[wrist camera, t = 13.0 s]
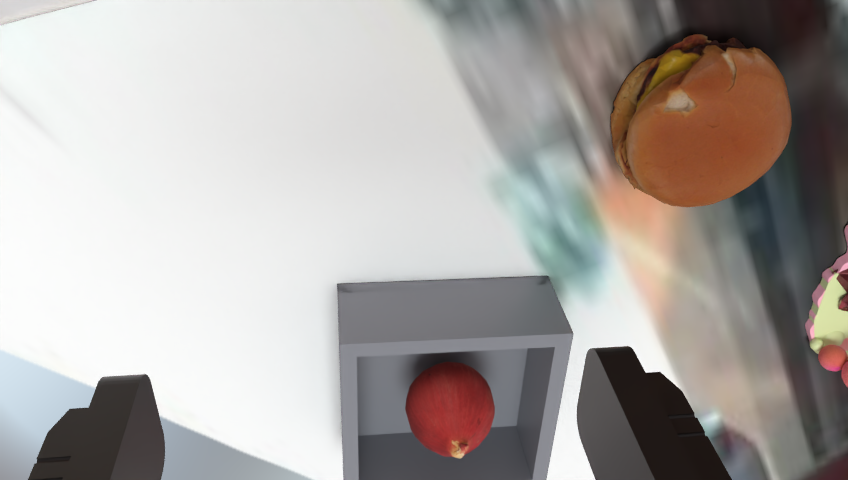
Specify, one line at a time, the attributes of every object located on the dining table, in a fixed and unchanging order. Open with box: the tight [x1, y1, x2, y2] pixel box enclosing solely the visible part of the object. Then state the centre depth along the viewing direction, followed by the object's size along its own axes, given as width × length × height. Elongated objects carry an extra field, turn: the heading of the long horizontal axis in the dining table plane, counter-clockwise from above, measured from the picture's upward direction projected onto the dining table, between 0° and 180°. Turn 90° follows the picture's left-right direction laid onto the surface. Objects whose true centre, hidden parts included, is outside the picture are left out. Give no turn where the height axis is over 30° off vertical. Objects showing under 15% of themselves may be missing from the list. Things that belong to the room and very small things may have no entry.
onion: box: [405, 362, 495, 458], centre depth 48 cm, size 6×6×8 cm
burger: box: [611, 34, 791, 207], centre depth 42 cm, size 10×10×5 cm
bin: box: [337, 276, 573, 480], centre depth 50 cm, size 14×14×6 cm
